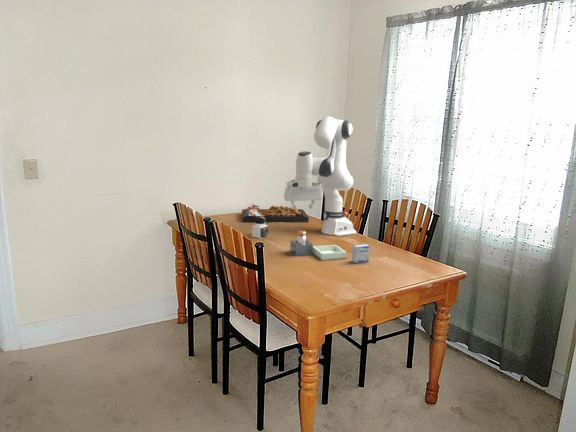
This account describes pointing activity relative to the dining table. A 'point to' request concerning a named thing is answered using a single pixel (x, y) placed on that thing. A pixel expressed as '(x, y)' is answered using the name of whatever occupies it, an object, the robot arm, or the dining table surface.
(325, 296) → the dining table surface
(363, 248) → the medicine box
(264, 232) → the medicine bottle
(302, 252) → the block
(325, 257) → the tray
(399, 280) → the dining table surface
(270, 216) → the food platter
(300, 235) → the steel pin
